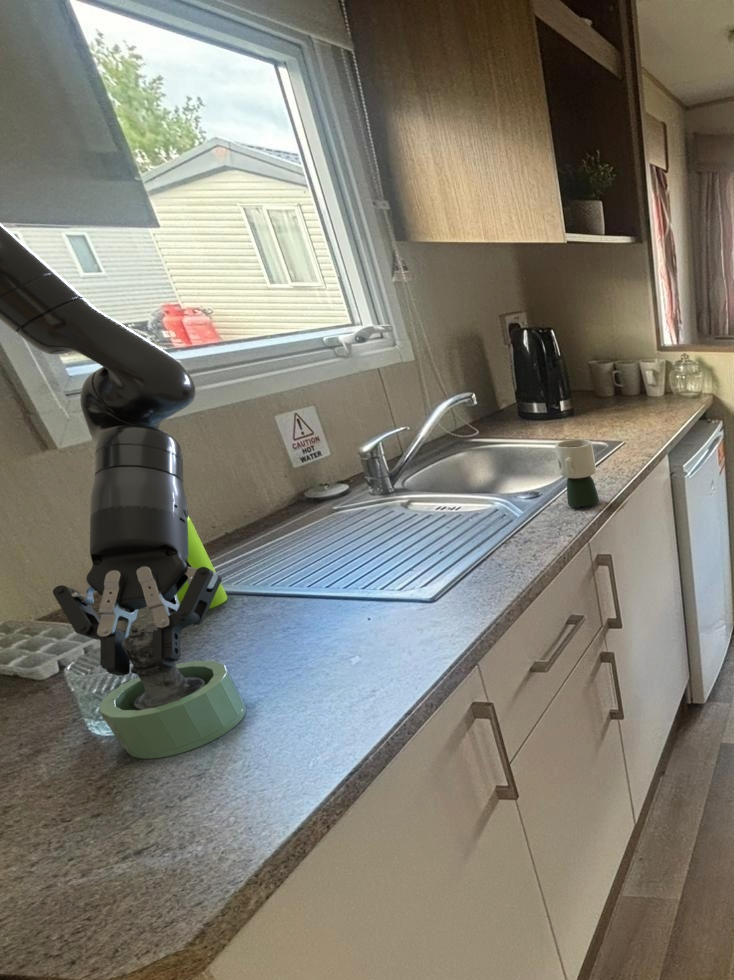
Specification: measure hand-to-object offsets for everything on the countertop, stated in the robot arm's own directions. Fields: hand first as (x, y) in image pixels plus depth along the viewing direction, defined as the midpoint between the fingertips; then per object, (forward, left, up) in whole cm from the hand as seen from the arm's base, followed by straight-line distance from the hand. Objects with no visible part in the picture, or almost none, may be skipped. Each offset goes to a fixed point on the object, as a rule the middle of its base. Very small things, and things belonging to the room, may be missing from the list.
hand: (141, 669), depth 67 cm
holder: (0, +2, -9) cm, 9 cm away
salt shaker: (0, +2, -8) cm, 8 cm away
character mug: (+47, +61, -9) cm, 78 cm away
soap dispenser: (-10, +38, -9) cm, 40 cm away
